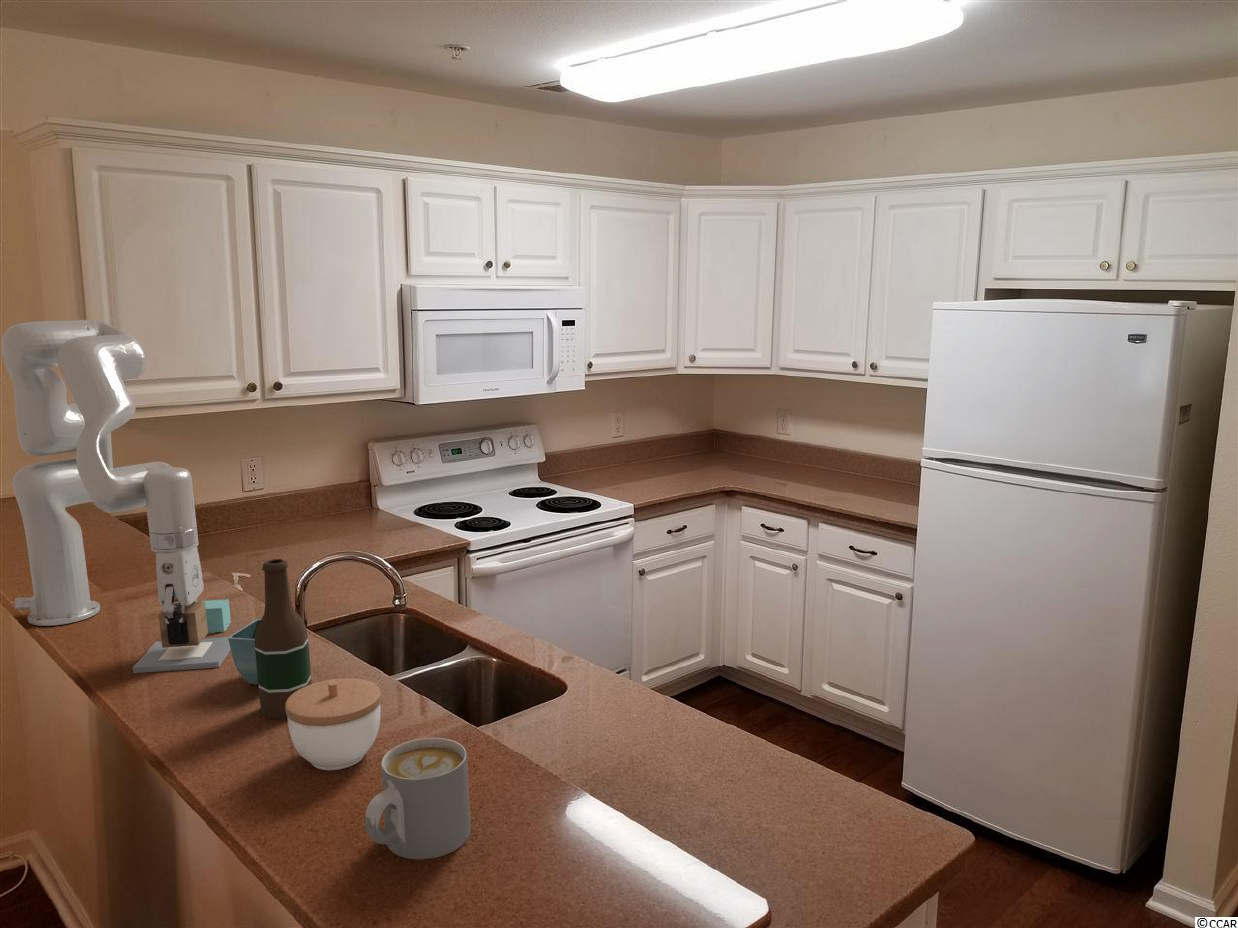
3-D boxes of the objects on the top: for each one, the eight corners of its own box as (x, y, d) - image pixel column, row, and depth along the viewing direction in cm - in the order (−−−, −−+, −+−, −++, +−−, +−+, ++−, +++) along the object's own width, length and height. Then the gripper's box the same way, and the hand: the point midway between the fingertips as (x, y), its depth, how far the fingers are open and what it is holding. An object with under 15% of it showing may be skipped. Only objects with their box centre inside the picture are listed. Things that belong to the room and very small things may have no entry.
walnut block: (162, 647, 162) (158, 614, 161) (173, 635, 168) (169, 603, 167) (198, 645, 163) (195, 612, 162) (208, 632, 169) (204, 601, 168)
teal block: (196, 634, 177) (194, 609, 176) (204, 625, 182) (201, 600, 181) (224, 632, 178) (221, 607, 177) (230, 623, 183) (228, 599, 182)
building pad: (133, 673, 159) (132, 666, 159) (156, 646, 171) (155, 640, 171) (219, 667, 161) (218, 660, 161) (236, 641, 173) (235, 635, 173)
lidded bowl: (333, 790, 121) (327, 711, 119) (270, 765, 128) (263, 690, 126) (403, 749, 132) (399, 676, 130) (341, 728, 138) (336, 658, 136)
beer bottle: (264, 724, 140) (250, 571, 135) (257, 704, 147) (244, 558, 142) (317, 713, 143) (305, 564, 139) (309, 694, 150) (297, 551, 146)
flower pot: (279, 693, 151) (275, 640, 149) (231, 688, 152) (226, 637, 151) (308, 671, 159) (304, 621, 157) (261, 667, 161) (257, 618, 159)
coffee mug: (443, 802, 118) (439, 729, 116) (486, 835, 111) (483, 758, 109) (344, 844, 110) (338, 766, 108) (384, 883, 102) (379, 800, 100)
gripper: (181, 551, 154) (192, 653, 157) (210, 525, 171) (219, 618, 174) (133, 553, 153) (145, 656, 156) (167, 527, 170) (177, 621, 173)
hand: (184, 635), depth 165 cm, fingers closed on walnut block, 6 cm apart
